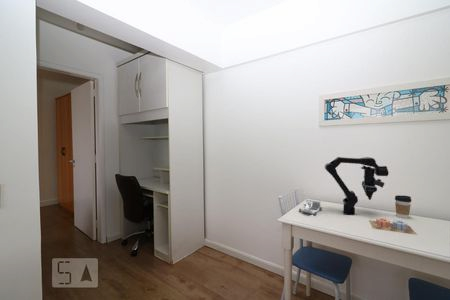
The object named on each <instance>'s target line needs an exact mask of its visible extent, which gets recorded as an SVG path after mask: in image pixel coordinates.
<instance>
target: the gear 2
mask: <svg viewBox="0 0 450 300" xmlns="http://www.w3.org/2000/svg"><path fill="white" fill-rule="evenodd" d="M398 221H402V223H398ZM392 223H393V228H395V229H398V230H402V231H406V230H407V225H408V222H406V221H403V220H398V219H394V220H393V221H392Z"/></svg>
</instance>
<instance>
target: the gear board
mask: <svg viewBox="0 0 450 300" xmlns="http://www.w3.org/2000/svg"><path fill="white" fill-rule="evenodd" d="M385 219H386V218H384V219H381V220H382V221H385ZM402 221H403V220H400V221H399V220H398V223H402ZM368 222H369V224H370V226H371V228H372V229H375V230H381V231H388V232H393V233H401V234H407V235H408V234H409V235H415V236H418V233H417V232H416V231H415V230H414V229H413V228H412V226H410V225H408V224H407V230H406V231H402V230H398V229H395V228H393V222H392V223H391V222H390V228H383V227H379V226H378V225H376V221H375V220H369V219H368Z"/></svg>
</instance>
